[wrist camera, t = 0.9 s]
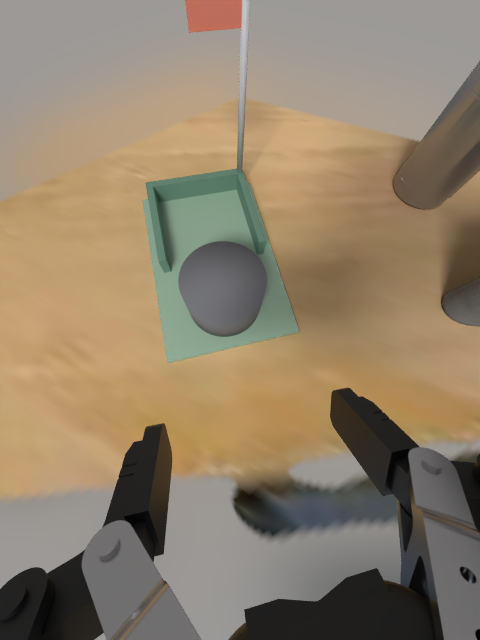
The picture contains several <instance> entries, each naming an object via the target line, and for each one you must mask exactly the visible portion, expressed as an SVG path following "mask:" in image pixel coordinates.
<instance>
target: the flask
mask: <svg viewBox="0 0 480 640" xmlns="http://www.w3.org/2000/svg"><path fill="white" fill-rule="evenodd" d="M442 305H443V309H444V311H445V313H446V314H447V315H448V316H449V317H450V318H451V319H452V320H454V321H456V322H458V323H461V324H465V325H471V326H480V277H479V278H477V279H475V280H473V281H471V282H469V283H467V284H465V285H463V286H461V287H459V288H457V289H455V290H453V291H451V292H449V293H447V294H446V295H445V296H444V297H443V301H442Z"/></svg>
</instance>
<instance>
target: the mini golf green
mask: <svg viewBox="0 0 480 640" xmlns="http://www.w3.org/2000/svg"><path fill="white" fill-rule="evenodd" d="M185 2H186V10H187V19H188V27H189V32H190V33H191V32H202V31H213V30H225V29H235V28H241V35H240V74H239V113H238V152H237V169H232V170H225V171H219V172H212V173H206V174H199V175H192V176H186V177H179V178H173V179H166V180H160V181H153V182H147V183H146V188H147V195H148V199H146V200H143V207H144V213H145V220H146V226H147V233H148V239H149V246H150V252H151V259H152V266H153V272H154V279H155V285H156V292H157V298H158V305H159V311H160V318H161V324H162V331H163V338H164V344H165V351H166V357H167V363H171V362H175V361H180V360H184V359H188V358H192V357H197V356H201V355H205V354H209V353H213V352H218V351H222V350H226V349H230V348H235V347H239V346H243V345H247V344H252V343H256V342H260V341H264V340H268V339H273V338H277V337H281V336H285V335H290V334H294V333H298V332H300V331H299V328H298V325H297V322H296V319H295V316H294V313H293V311H292V308H291V305H290V302H289V299H288V296H287V293H286V290H285V287H284V284H283V281H282V278H281V275H280V272H279V269H278V266H277V263H276V260H275V257H274V254H273V251H272V248H271V245H270V242H269V239H268V236H267V233H266V230H265V227H264V224H263V221H262V218H261V215H260V212H259V209H258V206H257V203H256V200H255V197H254V194H253V191H252V188H251V185H250V183H247V182H246V179H245V176H244V173H243V170H242V163H243V142H244V121H245V100H246V79H247V58H248V37H249V15H250V0H185ZM217 241H228V242H234V243H238V244H241V245H243V246H245V247H247V248H249V249H250V250H251V251H253V252H254V253H255V254H256V255H257V256H258V257H259V259H260V260H261V261H262V263H263V265H264V267H265V270H266V274H267V287H266V292H265V295H264V298H263V301H262V304H261V307H260V310H259V313H258V316H257V318H256V320H255V321H254V323H253V324H252V325H251V326H250V327H249V328H248V329H247V330H245V331H244V332H242V333H240V334H238V335H235V336H230V337H218V336H214V335H211V334H208V333H206V332H205V331H203V330H202V329H200V328H199V327H198V326H197V325H196V323H195V322H194V320H193V319H192V317H191V315H190V313H189V311H188V308H187V306H186V304H185V302H184V300H183V298H182V296H181V293H180V290H179V285H178V277H179V272H180V269H181V266H182V264H183V262H184V261H185V259H186V258H187V257H188V256H189V255H190V254H191V253H192V252H193V251H194V250H196V249H197V248H199V247H201V246H203V245H205V244H208V243H212V242H217Z"/></svg>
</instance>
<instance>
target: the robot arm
mask: <svg viewBox="0 0 480 640" xmlns="http://www.w3.org/2000/svg"><path fill="white" fill-rule="evenodd" d="M478 171H480V61H479V63H478V64H477V65H476V67H475V68H474V69H473V71H472V72H471V74H470V75H469V77H468V78H467V79H466V81H465V82H464V83H463V85H462V86H461V87H460V89H459V90H458V91H457V93H456V94H455V95H454V97H453V98H452V100H451V101H450V102H449V104H448V105H447V106H446V108H445V109H444V110H443V112H442V113H441V115H440V116H439V117H438V119H437V120H436V121H435V123H434V124H433V125H432V127H431V129H430V130H429V131H428V132H427V134H426V135H425V136H424V138H423V139H422V140H421V142H420V143H419V144H418V146H417V147H416V149H415V150H414V151H413V153H412V154H411V155H410V157H409V158H408V159H407V161H406V162H405V163H404V165H403V166H402V168H401V169H400V170H399V172H398V173H397V174H396V176H395V178H394V180H393V186H394V190H395V192H396V193H397V195H398V196H399V197H400V198H401V199H402V200H403V201H404V202H406V203H407V204H409V205H411V206H413V207H416V208H420V209H432V208H436V207H438V206H440V205H441V204H442V203H443V202H444V201H445V200H446V199H448V198H450V197H451V196H452V195H453V194H455V193H456V192H457V191H458V190H459V189H460V188H461V187H462V186H463V185H464V184H465V183H467V182H468V181H469V180H470V179H471V178H472V177H473V176H474V175H475V174H476V173H477V172H478ZM330 418H331V422H332V425H333V427H334V428H335V430H336V431H337V433H338V434H339V436H340V437H341V438H342V440H343V441H344V443H345V444H346V445H347V447H348V448H349V450H350V451H351V452H352V454H353V455H354V457H355V458H356V459H357V461H358V462H359V464H360V465H361V466H362V468H363V469H364V471H365V472H366V473H367V475H368V476H369V478H370V479H371V480H372V482H373V483H374V485H375V486H376V487H377V489H378V490H379V492H380V493H381V495H382V496H386V495H389V494H394V495H395V497H396V498H397V499H398V501H397V513H398V524H399V536H400V548H401V576H400V578H401V579H400V584H397V583H394V582H390V581H385V580H383V578H382V576H381V575H380V573H379V571H378V569H377V568H376V569H373V570H369V571H366V572H363V573H360V574H357V575H353V576H350V577H347V578H345V579H344V580H343V581H342V582H341V583H340V584H339V585H337V586H336V587H335V588H334V589H332V590H331V591H330V592H329V593H328V594H327V595H326V596H324V597H323V598H322V599H321V600H319V601H315V602H313V601H299V600H286V599H277V600H274V601H271V602H268V603H264V604H261V605H258V606H255V607H252V608H249V609H245V610H244V611H245V619H246V623H244V624H243V625H242V626H241V627H239V628H238V630H236V631H235V633H234V634H233V635H232V636H231V637H230V638H229V640H480V454H479V455H478V456H477V459H476V462H475V463H470V462H458V461H449V460H448V459H447V458H446V457H444V456H443V455H441V454H440V453H438V452H436V451H434V450H431V449H428V448H422V447H419V446H418V445H417V444H416V443H415V442H414V441H413V440H412V439H411V438H410V437H409V436H408V435H407V434H406V433H405V432H404V431H403V430H401V429H400V428H399V427H398V426H397V425H396V424H395V423H394V422H393V421H392V420H390V419H389V417H388V416H387V415H386V414H385V413H383V412H382V410H381V409H379V408H378V407H377V406H376V405H375V404H374V403H373V402H371V401H369V400H368V399H366V398H364V397H358V396H357V395H356V394H355V393H354V392H353V391H352V390H351V389H350V388H344V389H339V390H334V391H333V392H332V396H331V411H330ZM171 469H172V451H171V446H170V442H169V438H168V434H167V430H166V426H165V424H164V423H163V424H158V425H152V426H147V427H146V429H145V432H144V436H143V440H142V441H137V442H134V443H133V444H132V446H131V447H130V448H129V450H128V451H127V453H126V454H125V458H124V461H123V464H122V469H121V471H120V474H119V479H118V481H117V484H116V487H115V490H114V494H113V497H112V500H111V503H110V507H109V510H108V513H107V516H106V520H105V523H104V525H103V527H102V529H100V530H99V531H98V532H97V533H96V534H95V535H94V537H93V538H92V539H91V541H90V542H89V544H88V546H87V547H86V549H85V550H84V551H83V552H81V553H80V554H79V555H77V556H76V557H74V558H72V559H71V560H69V561H67V562H66V563H64V564H62V565H61V566H59V567H57V568H55V569H54V570H52V571H50V572H49V573H46V572H45V571H44V570H43V569H42V568H37V567H36V568H30V569H27V570H25V571H23V572H21V573H19V574H18V575H16V576H15V577H13V578H12V579H11V580H9V581H8V582H7V583H6V584H5V585H4V586H3V587H2V588H1V589H0V640H94V639H96V638H97V637H98V636H100V635H101V634H102V633H104V634H105V636H106V640H201V638H200V636H199V635H198V633H197V631H196V630H195V628H194V626H193V625H192V623H191V621H190V620H189V618H188V617H187V615H186V613H185V611H184V609H183V608H182V606H181V604H180V603H179V601H178V599H177V598H176V596H175V594H174V593H173V591H172V589H171V588H170V586H169V585H168V583H167V582H166V581H164V580H163V578H162V577H161V575H160V573H159V572H158V570H157V568H156V567H155V565H154V563H153V562H154V556H158V555H162V554H164V544H165V533H166V521H167V511H168V501H169V489H170V480H171Z"/></svg>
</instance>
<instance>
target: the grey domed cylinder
mask: <svg viewBox="0 0 480 640" xmlns="http://www.w3.org/2000/svg"><path fill="white" fill-rule="evenodd" d="M178 285H179V290H180V293H181V296H182V298H183V300H184V302H185V304H186V306H187V308H188V311H189V313H190V315H191V317H192V319H193V320H194V322H195V323H196V325H197V326H198V327H199V328H200V329H202V330H203V331H205V332H206V333H208V334H211V335H214V336H218V337H230V336H235V335H238V334H240V333H242V332H244V331H245V330H247V329H248V328H249V327H250V326H251V325H252V324H253V323H254V321H255V320H256V318H257V316H258V313H259V310H260V307H261V304H262V301H263V298H264V295H265V292H266V287H267V274H266V270H265V267H264V265H263V263H262V261H261V260H260V259H259V257H258V256H257V255H256V254H255V253H254V252H253V251H251V250H250V249H249V248H247V247H245V246H243V245H241V244H238V243H234V242H228V241H217V242H212V243H208V244H205V245H203V246H201V247H199V248H197V249H196V250H194V251H193V252H192V253H191V254H190V255H189V256H188V257H187V258H186V259H185V261H184V262H183V264H182V266H181V269H180V272H179V277H178Z"/></svg>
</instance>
